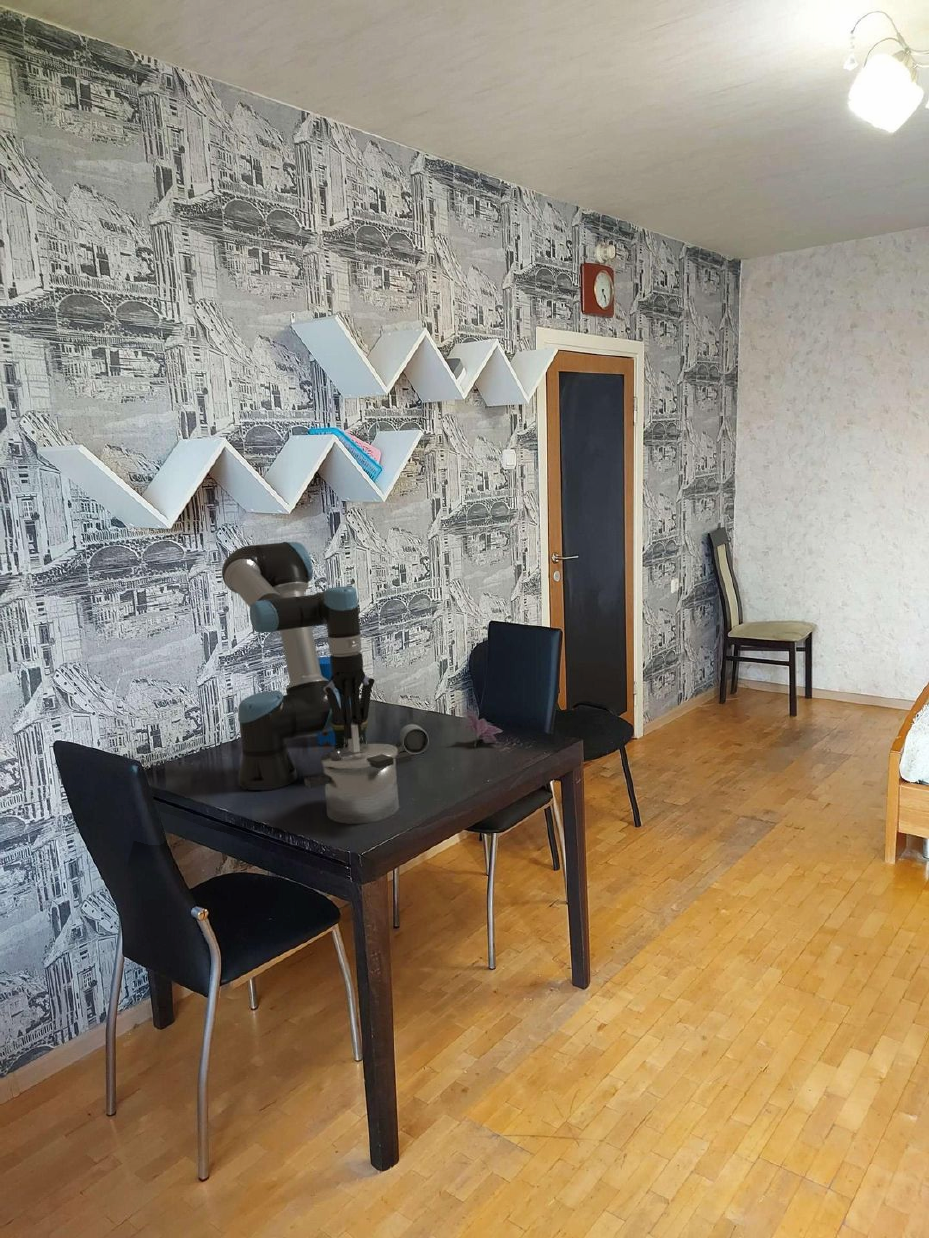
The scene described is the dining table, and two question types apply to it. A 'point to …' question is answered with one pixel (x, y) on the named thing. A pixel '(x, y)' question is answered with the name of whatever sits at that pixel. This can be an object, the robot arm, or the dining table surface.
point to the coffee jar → (339, 733)
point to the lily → (482, 728)
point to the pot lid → (360, 757)
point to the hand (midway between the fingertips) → (354, 750)
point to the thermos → (329, 736)
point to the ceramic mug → (412, 740)
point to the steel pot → (360, 792)
